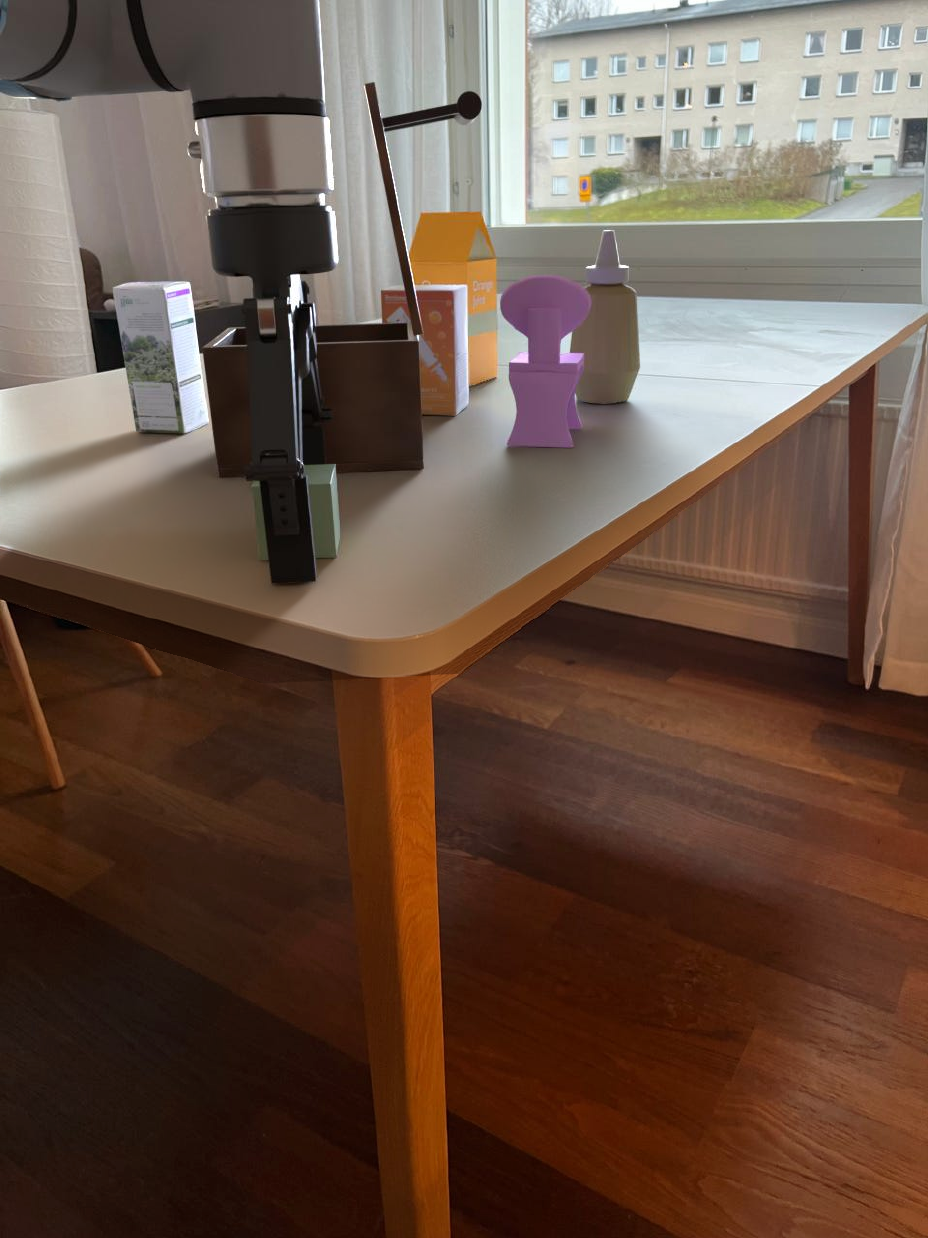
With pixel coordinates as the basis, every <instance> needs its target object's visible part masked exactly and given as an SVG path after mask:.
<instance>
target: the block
mask: <svg viewBox="0 0 928 1238" xmlns="http://www.w3.org/2000/svg"><path fill="white" fill-rule="evenodd" d="M304 468H305V472H304V473H303V474H307V479H308V489H309V500H310V510H311V520H312V531H313V541H314V552H315V559H333V558H337V557H338V552H339V545H340V539H341V534H342V532H341V522H340V521H341V519H340V507H339V506H340V505H339V493H338V482H337V481H338V480H337V473H336V467H335V464H323V465H304ZM251 494H252V495H251V496H252V501H253V502H252V504H253V513H254V521H255V531H256V538H257V548H258V554H259V555H258V557H259V561H261V562H262V561H263V562H265V561H269V559H268V551H267V542H266V534H265V525H264V516H263V508H262V499H261V491H260V482H259V481H253V484H252V485H251Z"/></svg>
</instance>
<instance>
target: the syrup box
mask: <svg viewBox="0 0 928 1238" xmlns="http://www.w3.org/2000/svg"><path fill="white" fill-rule="evenodd" d="M111 288H112V294H113V300H114V306H115V313H116V318H117V319H116V320H117V324H118V330H119V336H120V342H121V348H122V355H123V360H124V361H123V362H124V366H125V372H126V378H127V386H128V391H129V396H130V402H131V403H130V404H131V407H132V414H133V421H134V428H135V432H137V433H153V434H182V435H183V434H188V433H190V432H193V431H195V430H198V429H199V428H201V427H203V426H205V425H207V424H209V421H210V420H209V412H208V406H207V399H206V394H205V387H204V380H203V372H202V365H201V357H200V349H199V341H198V334H197V326H196V325H197V323H196V316H195V309H194V300H193V294H192V288H191V283H190V281H132V282H126V283H122V284H119V285H116V286H112V287H111Z"/></svg>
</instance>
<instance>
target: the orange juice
mask: <svg viewBox="0 0 928 1238" xmlns="http://www.w3.org/2000/svg"><path fill="white" fill-rule="evenodd" d="M408 257H409V263H410V268H411V273H412V278H413V283H414V285H467V320H468V384H469V386H470V385H473V384H476V385H479V384H481V383H480V382H482V383H484V382H483V381H485V382H487V381H486V380H488V379H491V378H494V377H496V376H498V373H499V371H498V368H499V367H498V366H499V365H498V324H499V322H498V319H499V318H498V281H497V280H498V278H497V277H498V273H497V271H498V267H497V264H498V263H497V261H498V259H497V256H496V253H495V251H494V247H493V243H492V241H491V237H490V234H489V231H488V229H487V225H486V222H485V220H484V217H483V213H482V211H453V212H452V211H446V212H445V211H443V212H441V211H439V212H420V215H419V219H418V222H417V225H416V228H415V231H414V235H413V239H412V242H411V245H410V249H409V252H408ZM498 377H499V376H498ZM494 379H495V378H494ZM491 380H492V379H491ZM488 381H489V380H488ZM478 383H479V384H478ZM473 386H474V385H473ZM470 387H471V386H470Z"/></svg>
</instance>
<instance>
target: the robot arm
mask: <svg viewBox="0 0 928 1238" xmlns="http://www.w3.org/2000/svg"><path fill="white" fill-rule="evenodd" d="M324 79H325V78H324V65H323V46H322V27H321V13H320V0H0V93H1V94H2V95H5V96H8V97H11V98H15V99H37V100H53V101H55V102H66V101H70V100H72V99H73V98H81V97H82V98H83V97H97V96H112V95H127V94H140V93H141V94H143V93H153V92H155V93H157V92H168V93H179V92H184V91H189V93H190V94H189V95H190V99H191V109H192V117H193V118H192V119H193V120H194V121H195V132H196V135H197V136H198V140H191V141H188V144H187V148H186V150H187V155H188V156H189V157H190V158H191V160H201V162H200V175H201V179H202V180H201V181H202V188H203V194H205V195H206V196H207V197H208V198H214V199H215V204H216V208H215V209H214V208H213V209H208V215H207V214H206V215H205V221H206V228H207V236H208V246H209V254H210V263H211V268H212V269H213V271H214V272H215V273H216V274H217V275H219V276H222V277H231V278H239V277H240V278H241V277H249V278H250V279H251V282H252V297H247V298H245V297H244V298H243V299H242V304H243V305H241V313H242V315H243V318H244V321H243V322H244V323H243V324H244V327H245V330H246V340H247V360H248V383H249V406H250V428H251V451H252V463H251V464H250V466H244V473H245V476H244V478H245V481H246V482H254V481H259V482H260V491H261V499H262V508H263V516H264V525H265V534H266V542H267V551H268V559H269V560H268V566H269V576H270V583H271V584H272V585H274V584H290V583H291V584H293V583H310V582H311V583H313V582H315V583H316V582H317V580H318V579H317V578H318V574H317V573H318V572H317V563H316V558H315V552H314V541H313V531H312V520H311V510H310V500H309V489H308V479H307V474H303V473H304V472H305V468H304V465H323V464H326V453H325V442H324V430H323V425H318V426H315V423H329V422H332V412H331V407H328V408H322V405H323V404H324V399H323V397H322V395H321V388H320V380H319V373H318V365H317V358H316V357H317V342H316V336H315V331H316V325H317V313H316V308H315V307H316V306H315V303H314V302H310V294H311V287H310V285H309V284H308V280H302V279H301V275H314V274H324V273H328V272H331V271H334V270H335V269H337V266H338V264H339V253H338V252H339V251H338V239H337V238H338V237H337V226H336V215H335V213H336V212H335V211H334V210H332V207H331V205H325V204H326V203H325V195H330V194H331V193H332V192H333V191H334V178H333V177H334V175H333V160H332V149H331V148H332V147H331V133H330V119H329V118H328V117H327V106H326V100H325V99H326V96H325V80H324ZM286 453H287V455H273V454H286Z"/></svg>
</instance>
